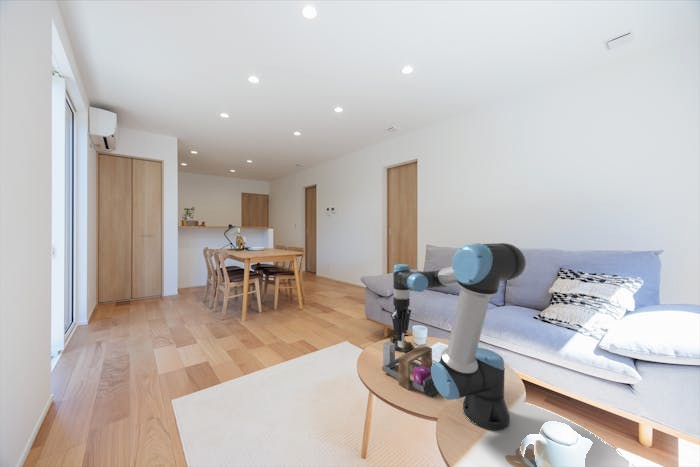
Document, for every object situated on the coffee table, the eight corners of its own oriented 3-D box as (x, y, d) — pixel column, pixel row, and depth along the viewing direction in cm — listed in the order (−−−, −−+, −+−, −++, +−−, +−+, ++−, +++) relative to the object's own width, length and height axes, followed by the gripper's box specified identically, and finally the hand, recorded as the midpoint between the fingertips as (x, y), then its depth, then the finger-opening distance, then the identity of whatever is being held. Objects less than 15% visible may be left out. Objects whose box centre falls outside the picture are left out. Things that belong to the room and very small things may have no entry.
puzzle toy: (420, 387, 115) (420, 374, 115) (413, 380, 120) (413, 368, 120) (432, 385, 117) (432, 372, 117) (424, 378, 122) (424, 365, 122)
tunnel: (431, 374, 125) (431, 348, 125) (408, 389, 113) (408, 361, 113) (422, 369, 129) (422, 344, 129) (398, 384, 117) (398, 357, 117)
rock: (389, 343, 161) (383, 341, 153) (401, 330, 161) (396, 327, 153) (405, 360, 153) (400, 359, 145) (417, 347, 153) (412, 345, 145)
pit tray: (447, 385, 116) (447, 383, 116) (432, 397, 108) (432, 395, 108) (440, 382, 119) (440, 380, 119) (424, 393, 111) (424, 391, 111)
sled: (442, 380, 120) (442, 356, 119) (423, 394, 110) (423, 367, 109) (395, 359, 139) (395, 338, 139) (375, 369, 129) (375, 346, 129)
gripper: (403, 293, 134) (403, 340, 134) (386, 298, 125) (385, 348, 126) (416, 296, 128) (415, 345, 129) (399, 301, 119) (398, 354, 120)
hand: (401, 346), depth 127 cm, fingers closed
